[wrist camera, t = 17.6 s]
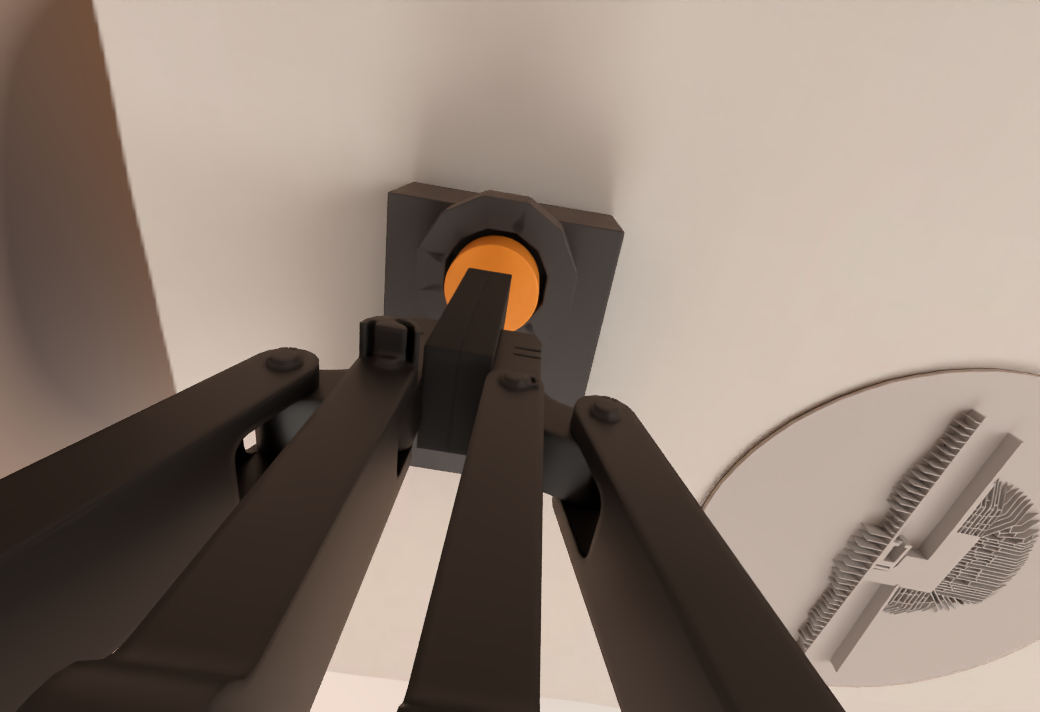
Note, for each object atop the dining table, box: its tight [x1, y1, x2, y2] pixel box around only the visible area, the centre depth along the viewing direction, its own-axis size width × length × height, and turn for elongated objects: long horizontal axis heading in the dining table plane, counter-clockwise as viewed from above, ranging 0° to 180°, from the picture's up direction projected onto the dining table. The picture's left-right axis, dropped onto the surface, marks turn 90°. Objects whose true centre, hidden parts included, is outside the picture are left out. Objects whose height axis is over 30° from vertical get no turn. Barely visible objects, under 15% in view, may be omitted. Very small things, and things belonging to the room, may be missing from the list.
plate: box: [702, 369, 1040, 687], centre depth 32 cm, size 28×28×1 cm
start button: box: [444, 235, 539, 331], centre depth 19 cm, size 4×4×2 cm
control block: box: [384, 182, 624, 474], centre depth 24 cm, size 15×10×6 cm
